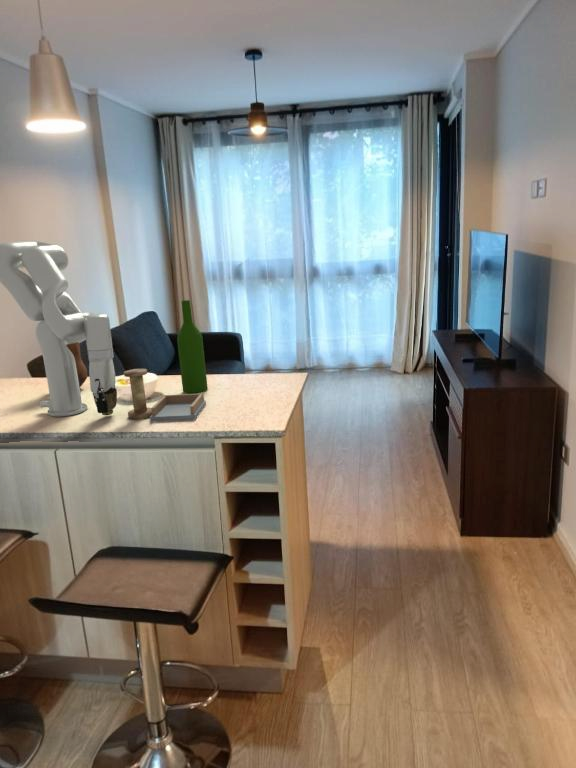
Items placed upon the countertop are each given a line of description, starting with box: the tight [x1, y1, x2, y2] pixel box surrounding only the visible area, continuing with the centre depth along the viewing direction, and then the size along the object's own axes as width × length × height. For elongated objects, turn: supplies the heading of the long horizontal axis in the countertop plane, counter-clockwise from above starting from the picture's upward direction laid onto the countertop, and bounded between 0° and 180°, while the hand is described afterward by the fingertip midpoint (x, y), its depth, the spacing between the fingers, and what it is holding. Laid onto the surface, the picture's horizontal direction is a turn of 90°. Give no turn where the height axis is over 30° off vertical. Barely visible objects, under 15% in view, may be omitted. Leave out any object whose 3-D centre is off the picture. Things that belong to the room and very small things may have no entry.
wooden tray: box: [149, 392, 207, 423], centre depth 187 cm, size 14×16×4 cm
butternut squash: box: [66, 342, 88, 389], centre depth 226 cm, size 14×13×25 cm
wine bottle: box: [176, 299, 208, 394], centre depth 211 cm, size 9×9×32 cm
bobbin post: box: [123, 368, 152, 421], centre depth 186 cm, size 8×8×14 cm
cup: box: [92, 386, 118, 416], centre depth 188 cm, size 8×7×8 cm
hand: (107, 408), depth 188 cm, fingers closed on cup, 6 cm apart
